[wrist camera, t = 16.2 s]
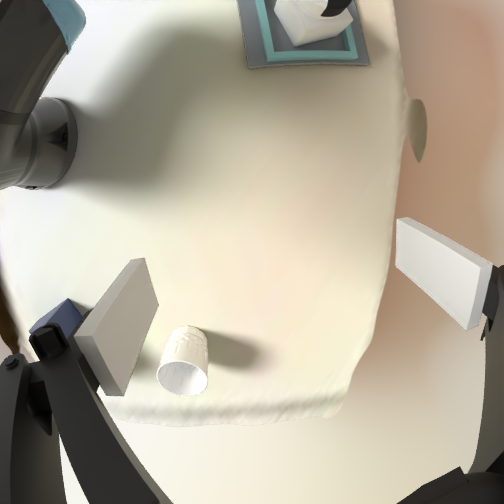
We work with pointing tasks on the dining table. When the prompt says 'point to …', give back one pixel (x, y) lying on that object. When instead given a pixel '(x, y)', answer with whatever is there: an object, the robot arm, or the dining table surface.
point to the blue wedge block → (61, 318)
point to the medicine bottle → (312, 19)
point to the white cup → (184, 362)
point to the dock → (282, 49)
